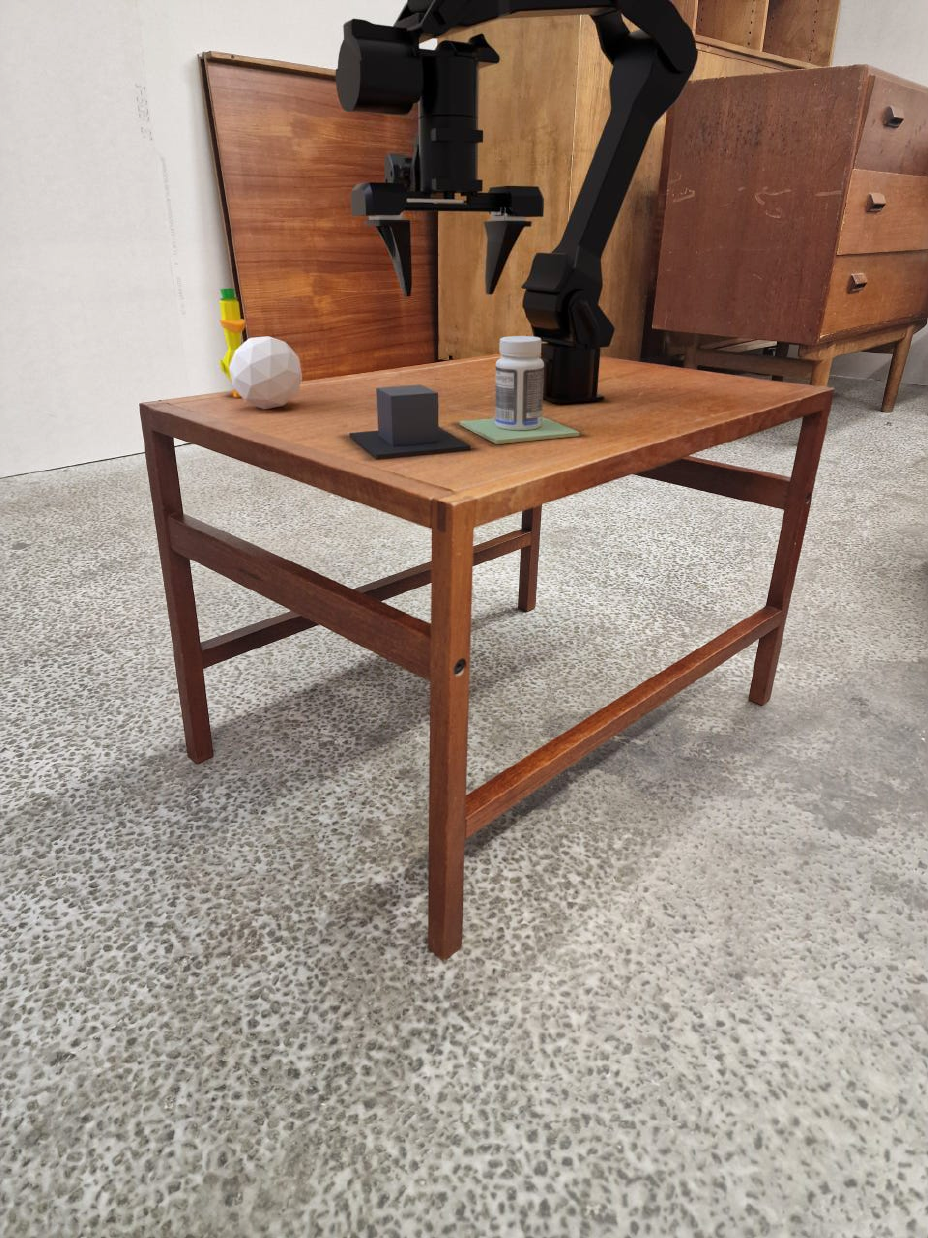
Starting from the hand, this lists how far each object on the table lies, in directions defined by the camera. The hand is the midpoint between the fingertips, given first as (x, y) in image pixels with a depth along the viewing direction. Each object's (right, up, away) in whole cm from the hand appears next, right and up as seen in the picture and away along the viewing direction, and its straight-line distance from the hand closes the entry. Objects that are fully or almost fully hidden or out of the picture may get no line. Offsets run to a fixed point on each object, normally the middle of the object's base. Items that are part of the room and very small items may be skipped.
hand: (449, 295), depth 83 cm
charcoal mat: (-4, -17, -8) cm, 19 cm away
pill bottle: (+7, -15, -3) cm, 16 cm away
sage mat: (+7, -15, -3) cm, 17 cm away
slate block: (-4, -17, -8) cm, 19 cm away
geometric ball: (-20, -10, +7) cm, 24 cm away
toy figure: (-25, -7, +13) cm, 30 cm away
